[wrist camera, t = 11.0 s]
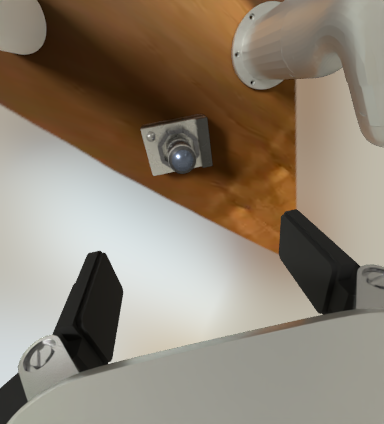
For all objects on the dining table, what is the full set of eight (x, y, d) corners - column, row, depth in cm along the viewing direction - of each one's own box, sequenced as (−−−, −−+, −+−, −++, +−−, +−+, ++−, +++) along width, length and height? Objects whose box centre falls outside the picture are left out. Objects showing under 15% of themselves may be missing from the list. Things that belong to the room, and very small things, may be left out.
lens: (188, 133, 41) (194, 143, 34) (192, 157, 43) (198, 171, 36) (163, 138, 40) (165, 149, 33) (169, 161, 43) (171, 177, 36)
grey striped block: (201, 113, 44) (208, 118, 38) (207, 157, 48) (214, 167, 42) (141, 124, 43) (139, 131, 37) (153, 168, 48) (152, 180, 42)
